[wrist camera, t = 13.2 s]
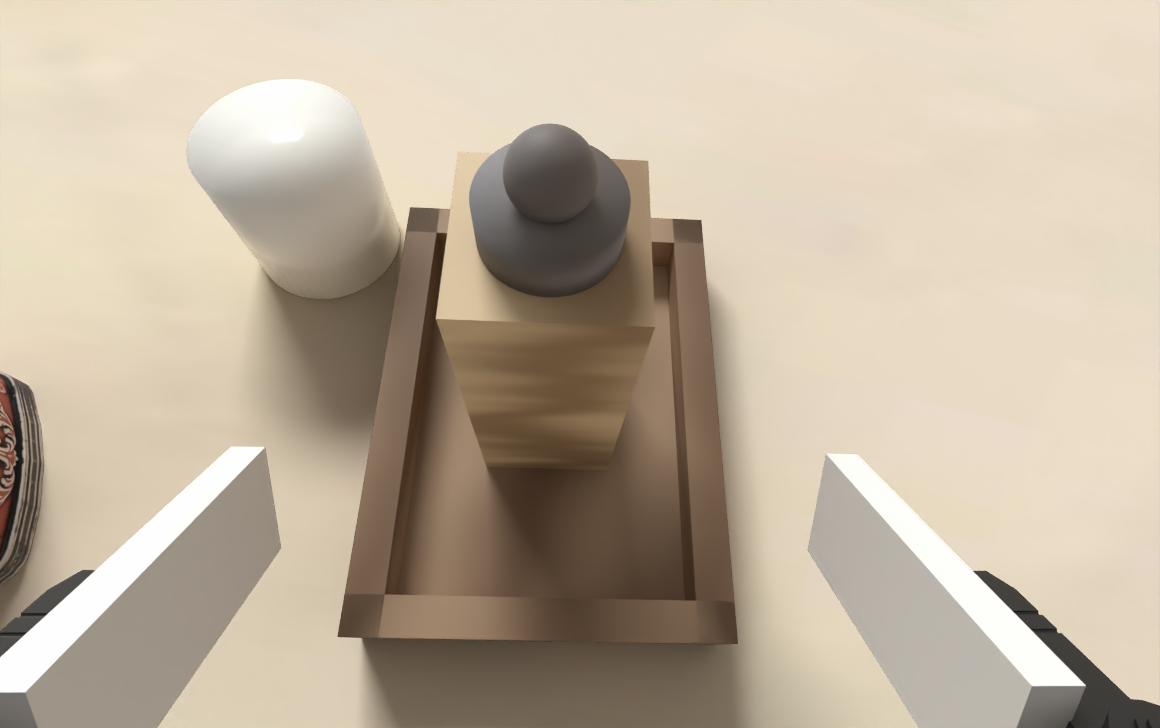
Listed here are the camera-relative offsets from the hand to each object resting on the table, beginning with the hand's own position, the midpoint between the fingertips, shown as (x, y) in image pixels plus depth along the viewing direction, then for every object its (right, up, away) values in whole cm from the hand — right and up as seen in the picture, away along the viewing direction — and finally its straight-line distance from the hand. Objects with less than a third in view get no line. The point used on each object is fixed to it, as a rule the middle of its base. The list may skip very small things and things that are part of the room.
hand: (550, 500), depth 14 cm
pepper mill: (0, +1, +9) cm, 9 cm away
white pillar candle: (-10, +9, +12) cm, 18 cm away
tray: (0, +1, +9) cm, 9 cm away
